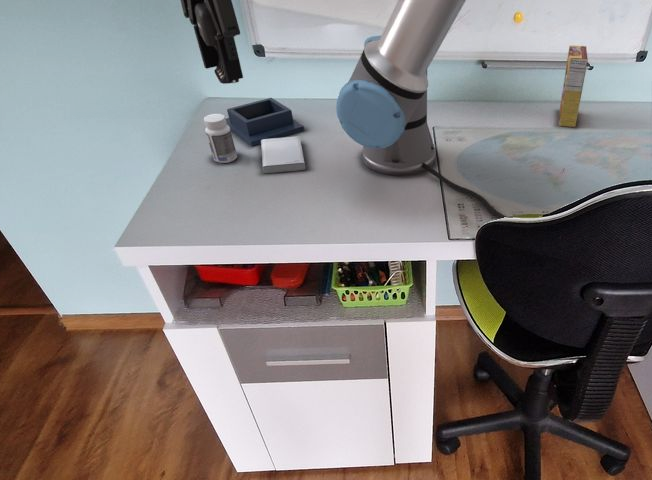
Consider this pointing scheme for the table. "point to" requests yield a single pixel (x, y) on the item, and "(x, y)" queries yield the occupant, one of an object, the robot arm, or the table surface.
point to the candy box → (573, 85)
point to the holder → (262, 121)
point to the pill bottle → (220, 138)
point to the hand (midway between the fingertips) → (223, 72)
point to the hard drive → (282, 154)
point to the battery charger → (210, 37)
